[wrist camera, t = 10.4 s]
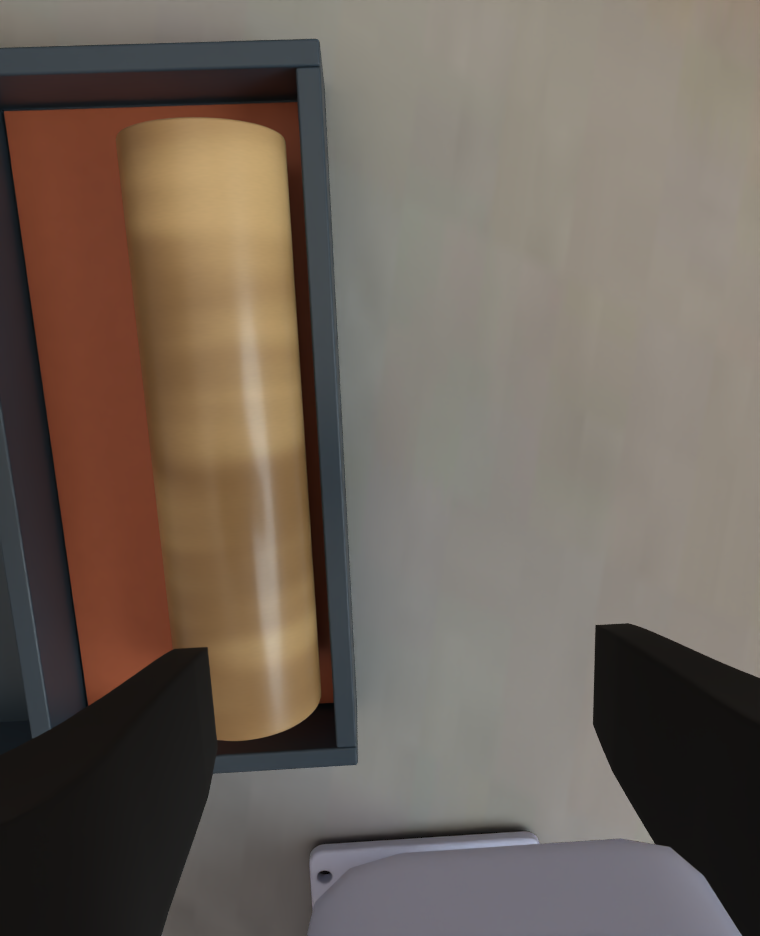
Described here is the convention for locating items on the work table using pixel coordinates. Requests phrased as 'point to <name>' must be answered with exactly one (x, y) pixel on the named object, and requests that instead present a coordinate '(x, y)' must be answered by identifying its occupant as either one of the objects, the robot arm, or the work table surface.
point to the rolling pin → (225, 408)
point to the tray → (138, 380)
